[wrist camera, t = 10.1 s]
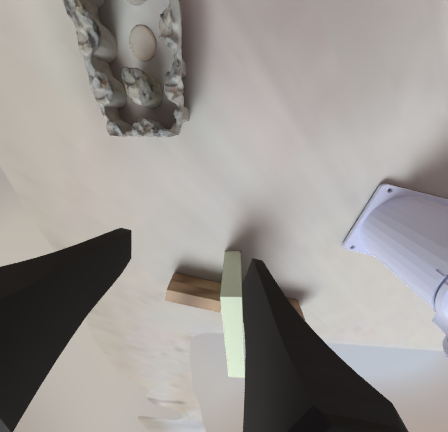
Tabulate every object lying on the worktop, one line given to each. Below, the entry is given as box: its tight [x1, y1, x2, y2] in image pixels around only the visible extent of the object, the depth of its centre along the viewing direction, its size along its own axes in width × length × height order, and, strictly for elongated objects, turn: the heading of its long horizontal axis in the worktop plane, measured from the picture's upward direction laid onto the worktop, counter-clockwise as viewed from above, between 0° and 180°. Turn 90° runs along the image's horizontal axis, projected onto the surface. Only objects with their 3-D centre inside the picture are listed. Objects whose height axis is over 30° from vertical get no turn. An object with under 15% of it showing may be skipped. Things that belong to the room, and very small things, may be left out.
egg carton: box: [63, 0, 189, 137], centre depth 14 cm, size 11×8×4 cm
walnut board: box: [165, 273, 305, 320], centre depth 24 cm, size 18×2×3 cm, turn 77°
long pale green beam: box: [220, 251, 245, 378], centre depth 23 cm, size 14×2×7 cm, turn 4°
